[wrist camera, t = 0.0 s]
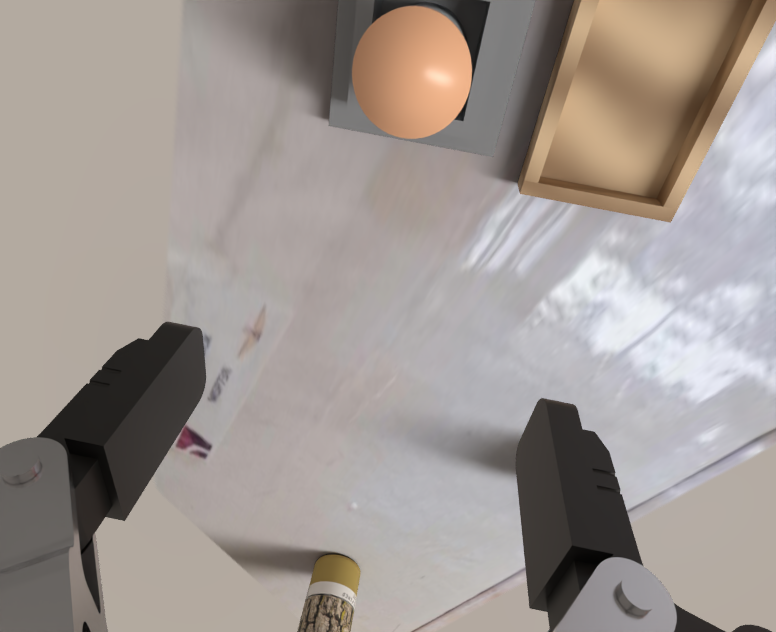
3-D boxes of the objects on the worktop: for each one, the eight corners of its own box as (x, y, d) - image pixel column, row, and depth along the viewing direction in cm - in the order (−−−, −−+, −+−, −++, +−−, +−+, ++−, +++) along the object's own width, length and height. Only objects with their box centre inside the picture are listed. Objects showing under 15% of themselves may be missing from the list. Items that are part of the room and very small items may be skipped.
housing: (349, -84, 30) (331, -93, 26) (545, -49, 30) (558, -52, 26) (333, 120, 37) (316, 139, 33) (492, 150, 37) (495, 173, 33)
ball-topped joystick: (390, -11, 31) (359, -4, 22) (480, 5, 30) (485, 19, 22) (378, 86, 34) (346, 127, 25) (459, 101, 34) (456, 148, 25)
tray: (600, -84, 29) (608, -87, 27) (790, -50, 28) (812, -51, 27) (517, 183, 38) (520, 193, 36) (660, 210, 38) (670, 222, 36)
